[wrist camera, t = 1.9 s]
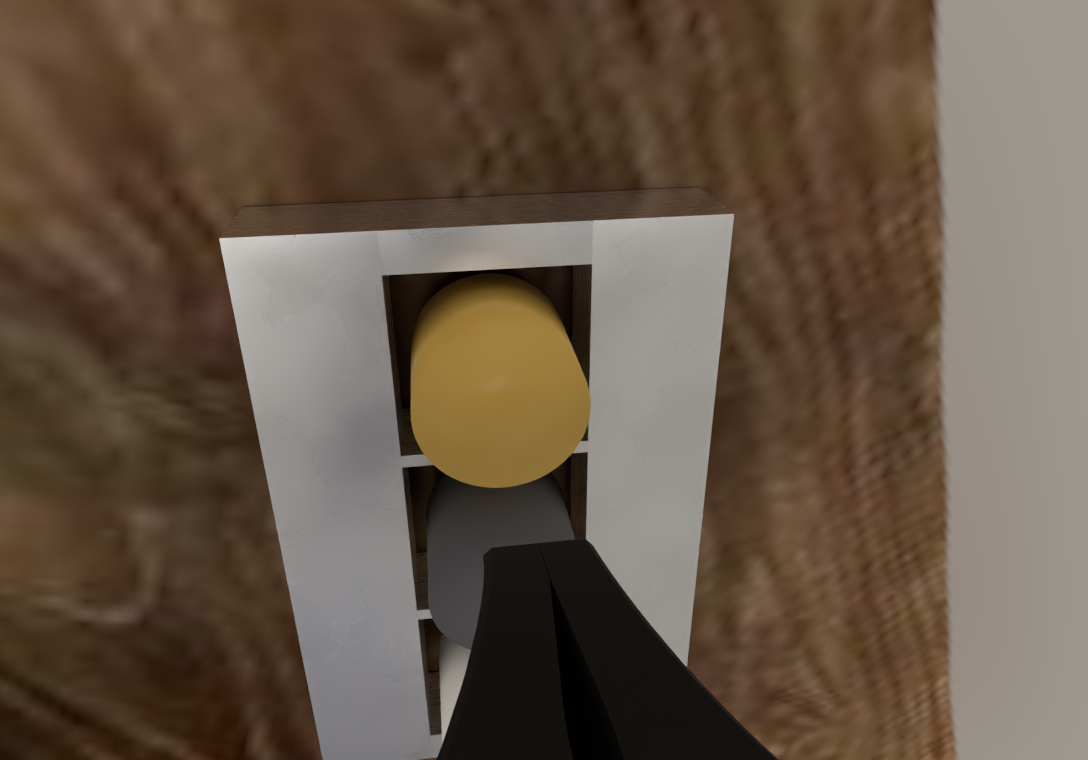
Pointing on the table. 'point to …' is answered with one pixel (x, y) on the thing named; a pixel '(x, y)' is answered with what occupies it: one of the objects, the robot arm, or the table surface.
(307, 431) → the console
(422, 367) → the amber button
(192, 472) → the table surface
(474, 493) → the dark grey rounded block
